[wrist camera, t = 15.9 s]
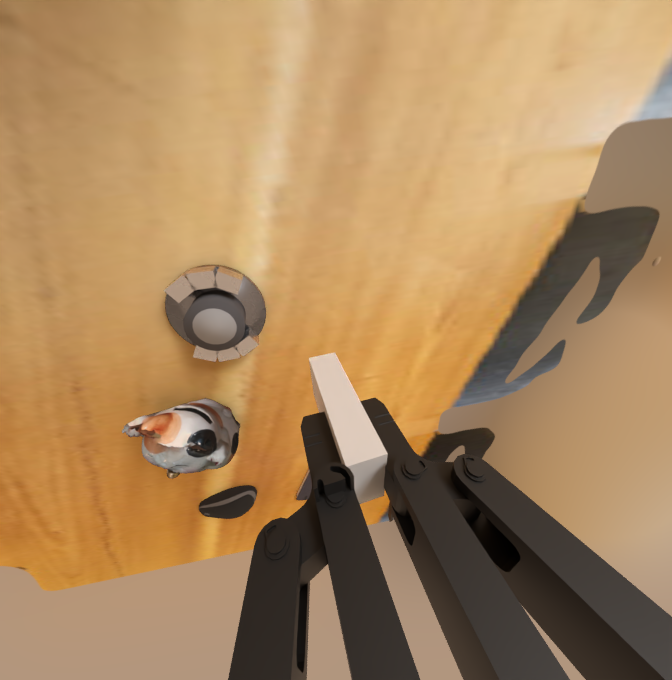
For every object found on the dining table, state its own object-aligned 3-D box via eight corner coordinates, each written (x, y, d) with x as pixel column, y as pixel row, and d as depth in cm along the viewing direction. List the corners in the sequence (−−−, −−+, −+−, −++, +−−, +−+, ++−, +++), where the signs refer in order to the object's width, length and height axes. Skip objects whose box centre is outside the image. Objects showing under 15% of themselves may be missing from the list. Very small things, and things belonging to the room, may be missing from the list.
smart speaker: (187, 331, 34) (180, 345, 30) (194, 283, 31) (186, 294, 28) (240, 340, 37) (239, 354, 33) (250, 297, 34) (250, 308, 31)
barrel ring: (272, 339, 39) (274, 351, 36) (188, 355, 36) (182, 369, 33) (255, 259, 33) (255, 265, 30) (150, 271, 30) (138, 279, 27)
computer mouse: (194, 499, 53) (190, 519, 50) (251, 479, 55) (251, 497, 52) (207, 514, 57) (204, 533, 53) (260, 495, 59) (260, 513, 55)
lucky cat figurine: (139, 441, 41) (73, 491, 28) (176, 378, 43) (130, 396, 29) (223, 472, 45) (200, 530, 31) (255, 412, 46) (247, 442, 32)
